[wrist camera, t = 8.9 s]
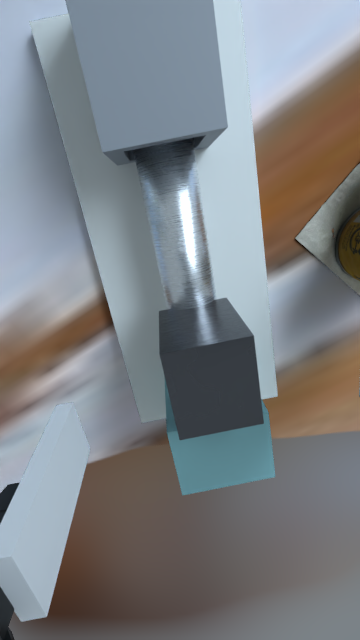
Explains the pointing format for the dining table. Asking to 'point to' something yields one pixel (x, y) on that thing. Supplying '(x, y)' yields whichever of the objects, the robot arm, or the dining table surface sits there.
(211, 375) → the tube
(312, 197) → the dining table surface
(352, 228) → the condiment
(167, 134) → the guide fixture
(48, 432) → the robot arm
